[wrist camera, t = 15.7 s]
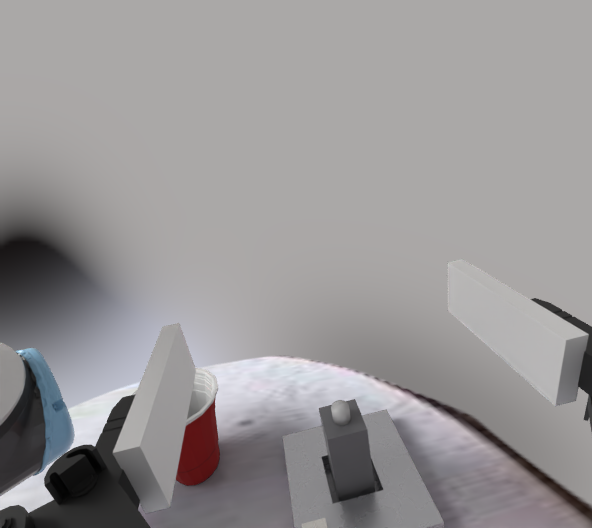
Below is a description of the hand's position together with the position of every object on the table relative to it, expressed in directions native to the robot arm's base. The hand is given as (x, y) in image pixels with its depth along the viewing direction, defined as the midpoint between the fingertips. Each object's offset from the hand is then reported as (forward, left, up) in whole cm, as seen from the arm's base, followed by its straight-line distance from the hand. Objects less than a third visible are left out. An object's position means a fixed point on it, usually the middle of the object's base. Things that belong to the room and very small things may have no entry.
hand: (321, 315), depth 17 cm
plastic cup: (-25, -5, -30) cm, 40 cm away
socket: (-9, +7, -30) cm, 32 cm away
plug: (-9, +7, -30) cm, 32 cm away
